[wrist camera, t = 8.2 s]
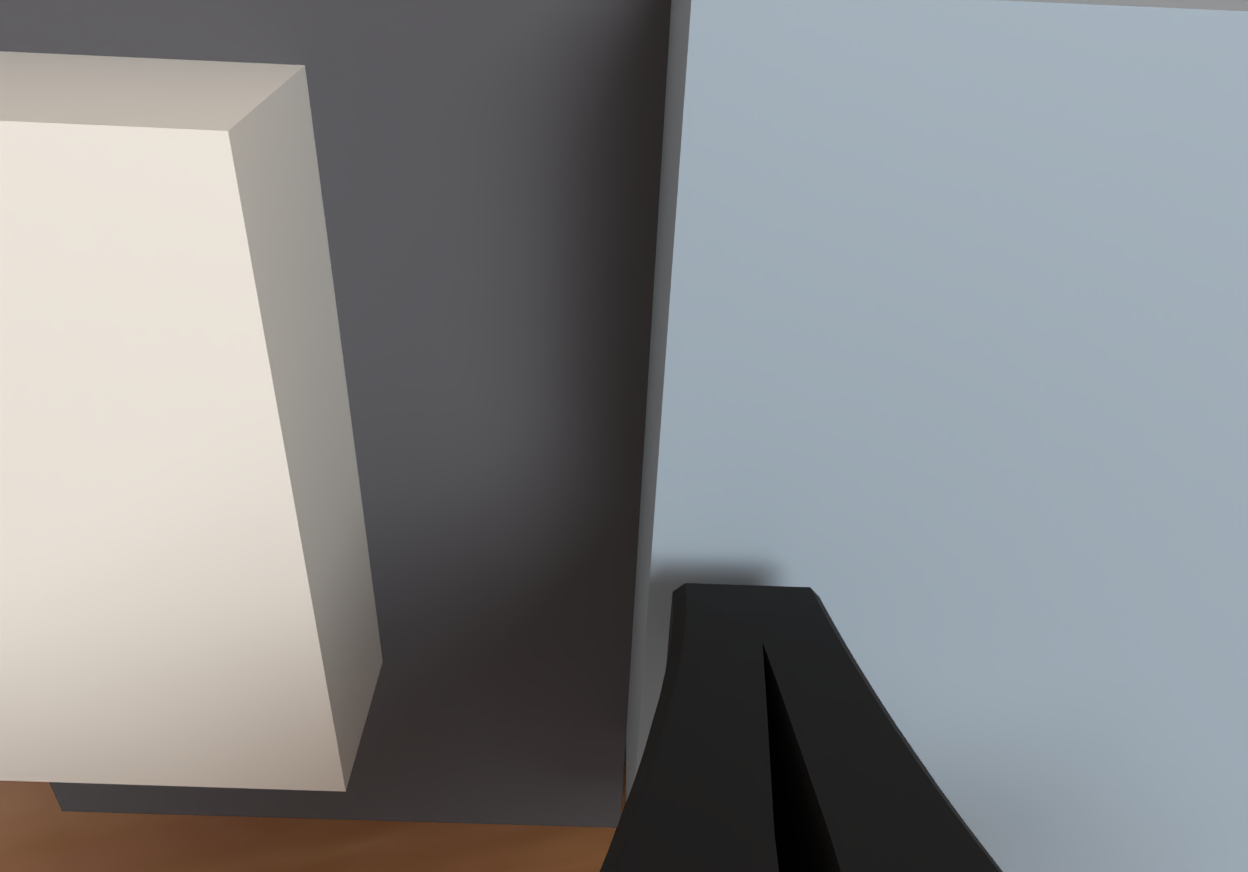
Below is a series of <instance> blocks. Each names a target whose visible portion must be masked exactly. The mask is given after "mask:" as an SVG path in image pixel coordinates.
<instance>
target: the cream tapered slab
mask: <svg viewBox="0 0 1248 872" xmlns="http://www.w3.org/2000/svg"><path fill="white" fill-rule="evenodd" d="M382 662H383V660H382V652H381V644H380V637H379V629H378V621H377V614H376V606H375V598H374V591H373V583H372V575H371V568H370V560H369V552H368V545H367V537H366V529H365V522H364V514H363V506H362V499H361V491H360V483H359V476H358V468H357V460H356V453H355V445H354V438H353V430H352V422H351V415H350V407H349V399H348V392H347V384H346V376H345V369H344V361H343V353H342V346H341V338H340V330H339V323H338V315H337V307H336V300H335V292H334V284H333V277H332V269H331V261H330V254H329V246H328V238H327V231H326V223H325V215H324V208H323V200H322V192H321V185H320V177H319V170H318V162H317V154H316V147H315V139H314V131H313V124H312V116H311V108H310V101H309V93H308V85H307V78H306V70H305V65H288V64H266V63H244V62H222V61H201V60H179V59H157V58H135V57H113V56H92V55H70V54H48V53H26V52H4V51H0V780H2V781H33V782H64V783H95V784H126V785H157V786H188V787H219V788H250V789H281V790H312V791H343V792H346V789H347V785H348V782H349V778H350V775H351V771H352V768H353V764H354V761H355V757H356V754H357V750H358V747H359V743H360V740H361V736H362V733H363V729H364V726H365V722H366V719H367V715H368V711H369V708H370V704H371V701H372V697H373V694H374V690H375V687H376V683H377V680H378V676H379V673H380V669H381V666H382Z"/></svg>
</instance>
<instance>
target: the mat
mask: <svg viewBox="0 0 1248 872" xmlns="http://www.w3.org/2000/svg"><path fill="white" fill-rule="evenodd" d="M670 16H671V0H0V51H4V52H26V53H48V54H70V55H92V56H113V57H135V58H157V59H179V60H201V61H222V62H244V63H266V64H288V65H305V70H306V78H307V85H308V93H309V101H310V108H311V116H312V124H313V131H314V139H315V147H316V154H317V162H318V170H319V177H320V185H321V192H322V200H323V208H324V215H325V223H326V231H327V238H328V246H329V254H330V261H331V269H332V277H333V284H334V292H335V300H336V307H337V315H338V323H339V330H340V338H341V346H342V353H343V361H344V369H345V376H346V384H347V392H348V399H349V407H350V415H351V422H352V430H353V438H354V445H355V453H356V460H357V468H358V476H359V483H360V491H361V499H362V506H363V514H364V522H365V529H366V537H367V545H368V552H369V560H370V568H371V575H372V583H373V591H374V598H375V606H376V614H377V621H378V629H379V637H380V644H381V652H382V660H383V662H382V666H381V669H380V673H379V676H378V680H377V683H376V687H375V690H374V694H373V697H372V701H371V704H370V708H369V711H368V715H367V719H366V722H365V726H364V729H363V733H362V736H361V740H360V743H359V747H358V750H357V754H356V757H355V761H354V764H353V768H352V771H351V775H350V778H349V782H348V785H347V789H346V792H343V791H312V790H281V789H250V788H219V787H188V786H157V785H126V784H95V783H64V782H49V783H50V785H51V787H52V789H53V792H54V794H55V796H56V798H57V801H58V803H59V805H60V807H61V810H62V811H78V812H111V813H145V814H178V815H212V816H245V817H279V818H312V819H346V820H379V821H412V822H446V823H479V824H513V825H546V826H580V827H613V828H617V826H618V823H619V820H620V818H621V810H622V794H623V778H624V762H625V746H626V729H627V713H628V697H629V681H630V664H631V648H632V632H633V616H634V600H635V583H636V567H637V551H638V535H639V518H640V502H641V486H642V470H643V454H644V437H645V421H646V405H647V389H648V373H649V356H650V340H651V324H652V308H653V291H654V275H655V259H656V243H657V227H658V210H659V194H660V178H661V162H662V145H663V129H664V113H665V97H666V81H667V64H668V48H669V32H670Z"/></svg>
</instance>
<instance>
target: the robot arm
mask: <svg viewBox="0 0 1248 872" xmlns="http://www.w3.org/2000/svg"><path fill="white" fill-rule="evenodd" d="M600 872H1003V871H1002V870H1001V869H1000V867H999V866H998V865H997V863H996V862H995V861H994V860H993V858H992V857H991V856H990V854H989V853H988V852H987V850H986V849H985V848H984V846H983V845H982V844H981V843H980V841H979V840H978V839H977V837H976V836H975V835H974V833H973V832H972V831H971V830H970V828H969V827H968V826H967V824H966V823H965V822H964V820H963V819H962V818H961V816H960V815H959V814H958V812H957V811H956V809H955V808H954V807H953V805H952V804H951V803H950V801H949V800H948V798H947V797H946V796H945V794H944V793H943V792H942V790H941V789H940V787H939V786H938V785H937V783H936V782H935V780H934V779H933V777H932V776H931V775H930V773H929V772H928V770H927V769H926V767H925V766H924V764H923V763H922V761H921V760H920V759H919V757H918V756H917V754H916V753H915V751H914V750H913V748H912V747H911V745H910V744H909V743H908V741H907V740H906V738H905V737H904V735H903V734H902V732H901V731H900V729H899V728H898V727H897V725H896V724H895V722H894V720H893V719H892V717H891V716H890V714H889V713H888V711H887V710H886V708H885V707H884V705H883V704H882V702H881V700H880V699H879V697H878V696H877V694H876V693H875V691H874V689H873V688H872V686H871V684H870V683H869V681H868V680H867V678H866V676H865V675H864V673H863V672H862V670H861V668H860V667H859V665H858V664H857V662H856V660H855V659H854V657H853V655H852V654H851V652H850V650H849V649H848V647H847V645H846V643H845V642H844V640H843V638H842V637H841V635H840V633H839V631H838V630H837V628H836V626H835V624H834V622H833V621H832V619H831V617H830V615H829V614H828V612H827V610H826V608H825V606H824V604H823V603H822V601H821V599H820V597H819V596H818V595H817V594H816V593H815V592H814V591H813V590H812V589H811V588H810V587H788V586H758V585H728V584H699V583H685V584H683V585H682V586H680V587H679V588H677V589H676V590H674V591H673V593H672V604H671V616H670V628H669V639H668V651H667V662H666V670H665V675H664V679H663V684H662V689H661V693H660V697H659V700H658V704H657V707H656V711H655V714H654V718H653V721H652V725H651V728H650V732H649V735H648V739H647V742H646V746H645V749H644V752H643V756H642V759H641V762H640V765H639V768H638V771H637V774H636V777H635V780H634V782H633V785H632V788H631V791H630V793H629V796H628V799H627V801H626V804H625V807H624V810H623V812H622V815H621V818H620V820H619V823H618V826H617V829H616V831H615V834H614V837H613V839H612V842H611V845H610V848H609V850H608V853H607V855H606V858H605V860H604V862H603V865H602V867H601V870H600Z"/></svg>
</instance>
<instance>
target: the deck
mask: <svg viewBox="0 0 1248 872" xmlns="http://www.w3.org/2000/svg"><path fill="white" fill-rule="evenodd" d="M685 583H699V584H728V585H758V586H788V587H810V588H811V589H812V590H813V591H814V592H815V593H816V594H817V595H818V596H819V597H820V599H821V601H822V603H823V604H824V606H825V608H826V610H827V612H828V614H829V615H830V617H831V619H832V621H833V622H834V624H835V626H836V628H837V630H838V631H839V633H840V635H841V637H842V638H843V640H844V642H845V643H846V645H847V647H848V649H849V650H850V652H851V654H852V655H853V657H854V659H855V660H856V662H857V664H858V665H859V667H860V668H861V670H862V672H863V673H864V675H865V676H866V678H867V680H868V681H869V683H870V684H871V686H872V688H873V689H874V691H875V693H876V694H877V696H878V697H879V699H880V700H881V702H882V704H883V705H884V707H885V708H886V710H887V711H888V713H889V714H890V716H891V717H892V719H893V720H894V722H895V724H896V725H897V727H898V728H899V729H900V731H901V732H902V734H903V735H904V737H905V738H906V740H907V741H908V743H909V744H910V745H911V747H912V748H913V750H914V751H915V753H916V754H917V756H918V757H919V759H920V760H921V761H922V763H923V764H924V766H925V767H926V769H927V770H928V772H929V773H930V775H931V776H932V777H933V779H934V780H935V782H936V783H937V785H938V786H939V787H940V789H941V790H942V792H943V793H944V794H945V796H946V797H947V798H948V800H949V801H950V803H951V804H952V805H953V807H954V808H955V809H956V811H957V812H958V814H959V815H960V816H961V818H962V819H963V820H964V822H965V823H966V824H967V826H968V827H969V828H970V830H971V831H972V832H973V833H974V835H975V836H976V837H977V839H978V840H979V841H980V843H981V844H982V845H983V846H984V848H985V849H986V850H987V852H988V853H989V854H990V856H991V857H992V858H993V860H994V861H995V862H996V863H997V865H998V866H999V867H1000V869H1001V870H1002V871H1003V872H1248V0H671V16H670V32H669V48H668V64H667V81H666V97H665V113H664V129H663V145H662V162H661V178H660V194H659V210H658V227H657V243H656V259H655V275H654V291H653V308H652V324H651V340H650V356H649V373H648V389H647V405H646V421H645V437H644V454H643V470H642V486H641V502H640V518H639V535H638V551H637V567H636V583H635V600H634V616H633V632H632V648H631V664H630V681H629V697H628V713H627V729H626V801H627V799H628V796H629V793H630V791H631V788H632V785H633V782H634V780H635V777H636V774H637V771H638V768H639V765H640V762H641V759H642V756H643V752H644V749H645V746H646V742H647V739H648V735H649V732H650V728H651V725H652V721H653V718H654V714H655V711H656V707H657V704H658V700H659V697H660V693H661V689H662V684H663V679H664V675H665V670H666V662H667V651H668V639H669V628H670V616H671V604H672V593H673V591H674V590H676V589H677V588H679V587H680V586H682V585H683V584H685Z"/></svg>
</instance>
